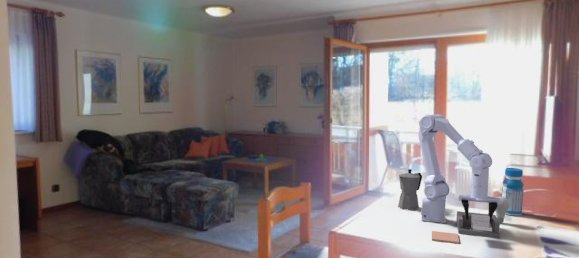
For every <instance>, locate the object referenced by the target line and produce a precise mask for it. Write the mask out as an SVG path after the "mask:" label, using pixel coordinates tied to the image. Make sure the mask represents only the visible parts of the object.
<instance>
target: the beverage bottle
mask: <svg viewBox="0 0 579 258" xmlns="http://www.w3.org/2000/svg"><path fill="white" fill-rule="evenodd" d="M523 171H524V170H523V169H521V168H516V167H507V168H505V169H504V175H505V178H504V179H503V181H502V189H501V193H502V195H501V197H505V198H506V199H507V200H508V201H509V204H510V206H509V208H508V210H507V211H506V213H505V216H506V215H507V216H513V217H517V216H518V217H519V216H522V215H523V202H524V201H523V199H524V193H525V190H524V185H525V184H524V182H523V180H522V178H523V174H524V173H523Z"/></svg>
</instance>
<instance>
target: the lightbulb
mask: <svg viewBox="0 0 579 258" xmlns="http://www.w3.org/2000/svg"><path fill="white" fill-rule="evenodd" d="M495 198H500V199H501V204H497V205H498V207H497V208H496V210H495V216H496V217H497V219H498V221H499V223H500V224H502V223H504V221H505V220H504V219H505V218H506V217H505V216H506V214H505V213H506V211H507V210H508V208H509V206H510V204H509V201H508V200H507V199H506V198H505V197H502V195H500V196H495Z"/></svg>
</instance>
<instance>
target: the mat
mask: <svg viewBox="0 0 579 258" xmlns="http://www.w3.org/2000/svg"><path fill="white" fill-rule="evenodd" d="M458 234H459V233H454V232H453V233H452V232H447V231H446V232H444V231H437V230H431V240H432V241H434V242H441V243H443V242H444V243H451V244H459V245H460V240H459V239H460V238H459V235H458Z"/></svg>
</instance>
